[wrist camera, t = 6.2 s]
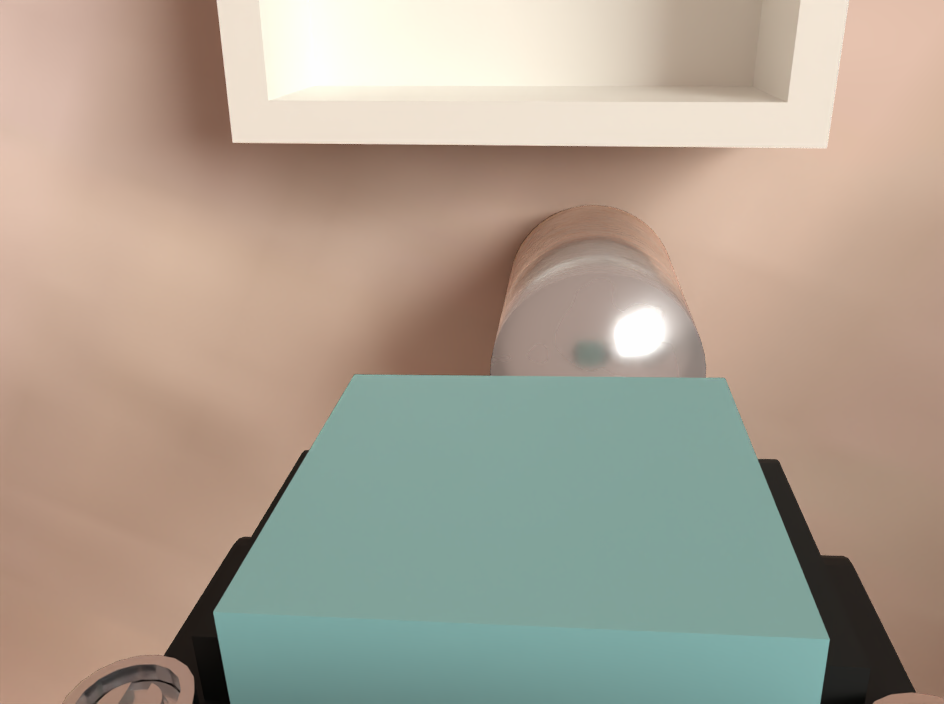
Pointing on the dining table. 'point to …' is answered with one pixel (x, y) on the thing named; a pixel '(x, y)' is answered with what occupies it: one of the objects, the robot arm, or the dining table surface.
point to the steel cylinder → (595, 303)
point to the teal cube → (525, 553)
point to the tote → (533, 72)
